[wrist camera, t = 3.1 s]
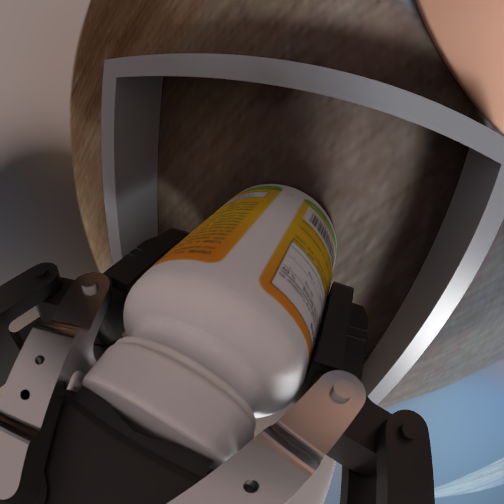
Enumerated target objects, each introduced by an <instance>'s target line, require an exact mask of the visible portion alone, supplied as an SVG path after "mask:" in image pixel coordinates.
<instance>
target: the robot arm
mask: <svg viewBox="0 0 504 504" xmlns="http://www.w3.org/2000/svg"><path fill="white" fill-rule="evenodd" d="M189 234H190V233H187V232H184V231H181V230H178V229H175V228H171V229H169V230H168V231H167V232H165V233H164V234H163V235H161V236H160V237H159V236H156V237H153V238H150V239H148V240H145V241H144V242H143V243H141V244H140V245H139V246H137V247H136V249H133V250H132V251H131V252H129V255H128V254H127V255H126V256H124V257H123V258H122V259H121V260H119V261H118V262H117V263H115V264H114V265H113V266H112V267H110V268H109V269H108V270H107V271H106V272H104V273H100V272H89V273H84V274H82V275H80V276H79V277H77V278H76V279H75V280H72V279H67V278H62V277H60V274H59V271H58V268H57V266H56V265H55V264H53V263H40V264H38V265H36V266H34V267H32V268H30V269H28V270H27V271H25V272H23V273H21V274H20V275H18V276H16V277H15V278H13V279H11V280H10V281H8V282H6V283H5V284H3V285H1V286H0V387H1V386H3V385H4V384H5V386H4V388H3V391H2V393H1V396H0V504H285V503H286V502H287V501H288V500H289V499H290V498H291V497H292V496H293V495H294V494H295V493H296V492H297V491H298V490H299V488H300V487H301V486H302V485H303V484H304V483H305V482H306V481H307V480H308V479H309V478H310V477H311V476H312V474H313V473H314V472H315V471H316V470H317V468H318V467H319V465H320V462H321V460H322V459H323V458H324V456H325V455H327V456H329V457H330V458H332V459H333V460H335V461H337V462H338V463H340V464H342V482H341V497H340V504H435V500H434V480H433V467H432V456H431V447H430V440H429V432H428V427H427V425H426V422H425V421H424V419H423V418H422V417H421V416H420V415H419V414H417V413H416V412H414V411H411V410H400V411H397V412H395V413H394V414H391V413H389V412H387V411H386V410H384V409H382V408H381V407H379V406H377V405H376V404H375V403H373V402H372V401H371V400H370V399H369V398H368V397H367V395H366V391H365V388H364V385H363V384H362V371H363V363H364V355H365V345H366V342H365V341H366V335H367V332H366V331H367V323H368V317H367V315H366V312H365V310H364V308H363V306H360V305H357V304H354V303H352V299H353V291H354V288H352V287H349V286H346V285H343V284H340V283H337V282H333V284H332V287H331V289H330V292H329V294H328V297H327V301H326V305H325V309H324V313H323V317H322V321H321V325H320V329H319V332H318V336H317V339H316V343H315V347H314V351H313V355H312V358H311V361H310V365H309V368H308V371H307V374H306V377H305V379H304V382H303V385H302V387H301V389H300V391H299V392H298V394H297V396H296V397H295V398H294V399H293V401H292V403H295V405H294V406H293V407H292V408H291V409H290V410H289V411H288V412H286V413H285V414H284V415H283V416H282V417H281V418H280V419H279V420H278V421H277V422H276V423H275V424H273V425H272V426H271V425H270V426H268V427H267V428H265V429H264V430H263V431H261V432H260V433H259V434H258V435H257V436H256V437H254V438H253V439H252V440H251V441H250V442H249V443H247V444H246V445H245V446H244V447H243V448H242V449H240V450H239V451H238V452H237V453H235V454H234V455H233V456H232V457H231V458H229V459H228V460H227V461H226V462H224V463H223V464H222V465H220V466H219V467H218V468H217V469H215V470H214V469H213V468H212V467H213V461H212V460H209V459H207V458H205V457H203V456H200V455H198V454H196V453H194V452H192V451H190V450H187V449H185V448H183V447H181V446H179V445H177V444H175V443H171V442H167V441H163V440H159V439H156V438H152V437H149V436H146V435H142V434H139V433H137V432H135V431H134V430H132V429H131V428H130V426H129V425H128V424H127V423H126V422H125V421H124V420H123V419H122V418H121V417H120V416H119V415H118V414H117V413H116V412H115V410H114V409H113V408H112V407H111V406H110V405H109V404H108V403H106V402H105V401H103V400H102V399H100V398H99V397H98V396H96V395H95V394H93V393H92V392H91V391H89V390H88V389H87V388H85V387H84V386H83V385H82V382H83V379H84V377H85V375H86V374H87V373H88V372H89V371H90V369H91V368H92V367H93V366H94V365H95V363H96V362H97V361H98V360H99V359H100V358H101V356H102V355H103V354H104V353H105V351H106V350H107V349H108V348H109V347H110V346H112V345H114V344H115V342H116V341H117V340H119V339H121V338H123V336H122V334H123V333H124V332H125V328H124V321H123V311H124V305H125V301H126V298H127V296H128V294H129V292H130V290H131V288H132V287H133V285H134V284H135V283H136V282H137V281H138V280H139V279H140V278H141V277H142V275H143V274H144V273H145V272H146V271H147V270H148V269H150V268H151V267H152V266H153V265H154V264H155V263H156V262H157V261H158V260H159V259H161V258H162V257H163V256H164V255H165V254H166V253H168V252H169V251H170V250H171V249H172V248H173V247H175V246H176V245H177V244H178V243H179V242H180V241H182V240H183V239H184V238H185V237H186V236H187V235H189ZM34 306H36V308H37V311H38V313H39V315H40V317H39V318H37V319H36V320H34V321H33V322H31V323H30V324H28V325H27V326H25V327H24V328H22V329H21V330H19V331H18V332H14V333H13V332H10V331H9V329H8V327H9V324H10V323H11V322H12V321H13V320H14V319H16V318H17V317H19V316H21V315H22V314H24V313H25V312H27V311H28V310H30V309H31V308H33V307H34Z"/></svg>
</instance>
